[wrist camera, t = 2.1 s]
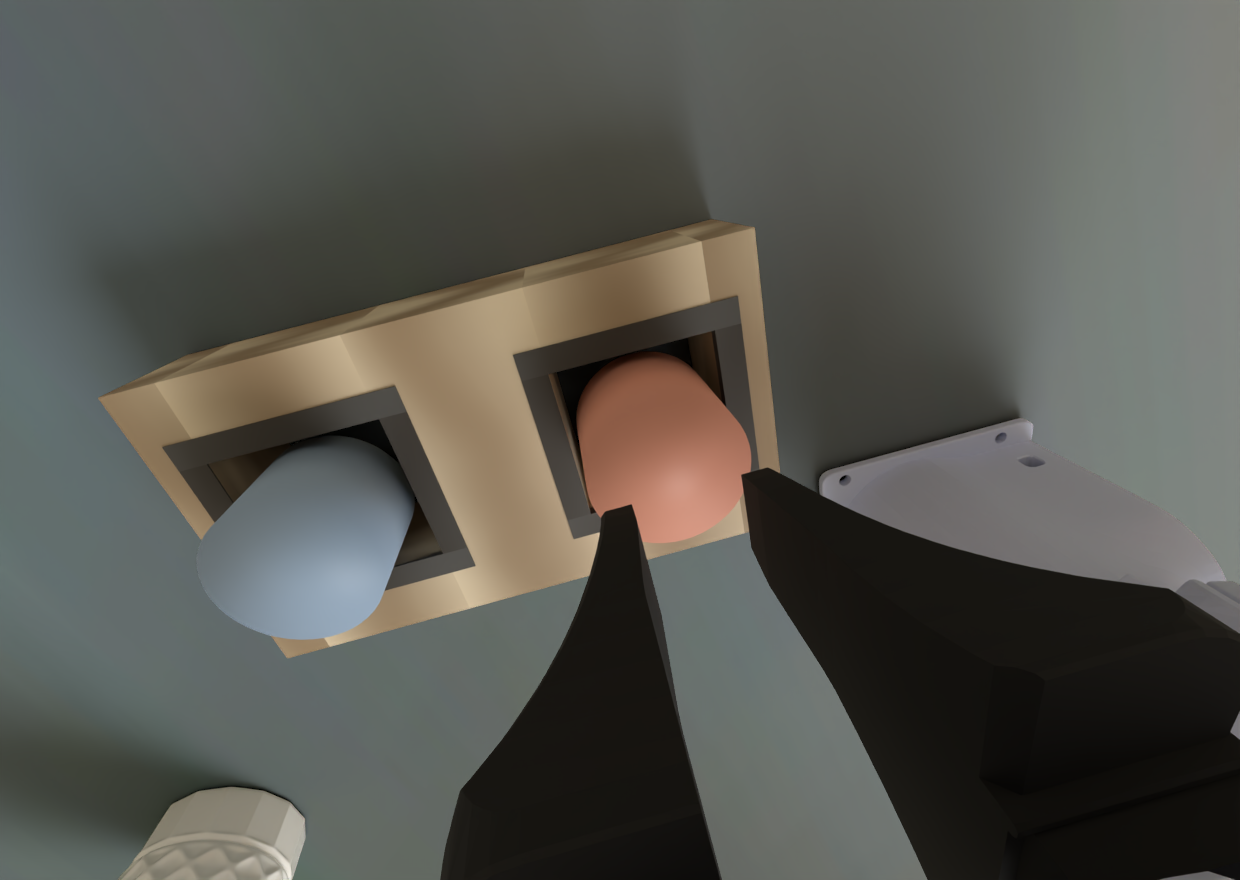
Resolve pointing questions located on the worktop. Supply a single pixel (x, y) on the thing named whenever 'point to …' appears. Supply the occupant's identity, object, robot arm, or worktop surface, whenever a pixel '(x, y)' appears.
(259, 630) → the blue peg
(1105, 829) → the robot arm
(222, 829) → the white cup
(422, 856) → the worktop surface
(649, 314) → the peg block
